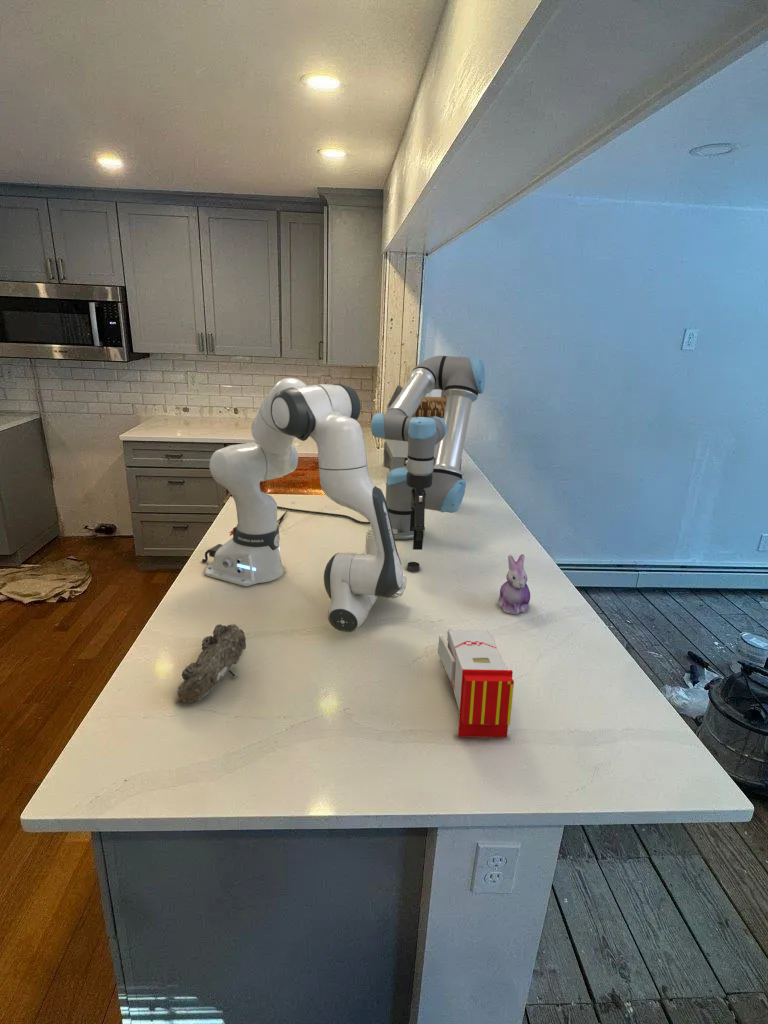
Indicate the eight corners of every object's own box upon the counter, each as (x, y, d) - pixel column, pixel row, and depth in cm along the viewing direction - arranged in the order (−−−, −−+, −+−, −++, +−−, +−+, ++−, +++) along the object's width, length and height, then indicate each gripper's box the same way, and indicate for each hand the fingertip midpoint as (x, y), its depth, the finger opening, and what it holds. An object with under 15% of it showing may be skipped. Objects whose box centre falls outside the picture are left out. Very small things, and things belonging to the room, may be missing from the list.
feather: (294, 505, 227) (296, 501, 226) (277, 528, 200) (280, 524, 199) (290, 503, 226) (292, 499, 226) (273, 526, 200) (276, 521, 199)
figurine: (512, 619, 147) (519, 566, 142) (488, 601, 156) (494, 551, 151) (540, 611, 151) (548, 560, 146) (515, 594, 160) (522, 546, 155)
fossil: (199, 626, 130) (246, 596, 125) (228, 655, 132) (275, 626, 127) (155, 696, 110) (209, 664, 105) (190, 728, 113) (244, 697, 108)
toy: (488, 613, 130) (523, 677, 101) (484, 667, 133) (517, 744, 104) (435, 612, 130) (455, 676, 101) (432, 666, 133) (451, 743, 103)
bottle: (362, 593, 157) (365, 520, 150) (365, 585, 162) (367, 513, 155) (381, 595, 157) (385, 522, 149) (383, 586, 162) (387, 515, 154)
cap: (417, 572, 171) (418, 567, 170) (405, 571, 172) (406, 565, 171) (420, 567, 174) (420, 562, 174) (408, 566, 175) (409, 560, 175)
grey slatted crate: (382, 463, 289) (386, 382, 275) (445, 464, 293) (451, 384, 279) (390, 482, 257) (394, 392, 243) (460, 483, 261) (468, 394, 247)
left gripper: (401, 586, 142) (412, 563, 155) (324, 574, 146) (340, 553, 159) (400, 608, 144) (410, 584, 157) (324, 596, 149) (340, 573, 161)
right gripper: (404, 459, 174) (401, 523, 182) (409, 486, 151) (405, 557, 159) (428, 460, 174) (424, 523, 182) (437, 486, 151) (432, 558, 159)
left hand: (374, 568), depth 158 cm, fingers closed on bottle, 5 cm apart
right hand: (415, 539), depth 171 cm, fingers open, 13 cm apart
